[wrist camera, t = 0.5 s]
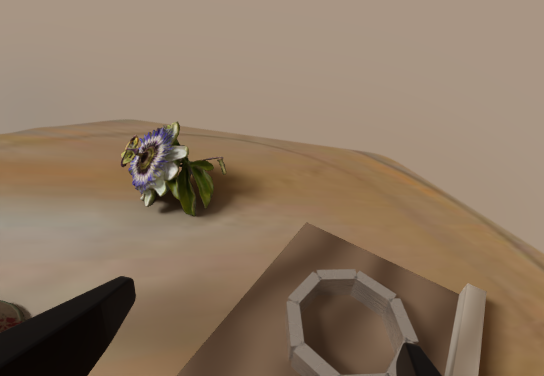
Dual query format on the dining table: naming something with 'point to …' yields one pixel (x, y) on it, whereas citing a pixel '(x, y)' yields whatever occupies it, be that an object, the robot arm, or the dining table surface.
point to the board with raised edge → (341, 318)
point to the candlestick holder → (9, 316)
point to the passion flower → (168, 168)
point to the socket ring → (365, 290)
